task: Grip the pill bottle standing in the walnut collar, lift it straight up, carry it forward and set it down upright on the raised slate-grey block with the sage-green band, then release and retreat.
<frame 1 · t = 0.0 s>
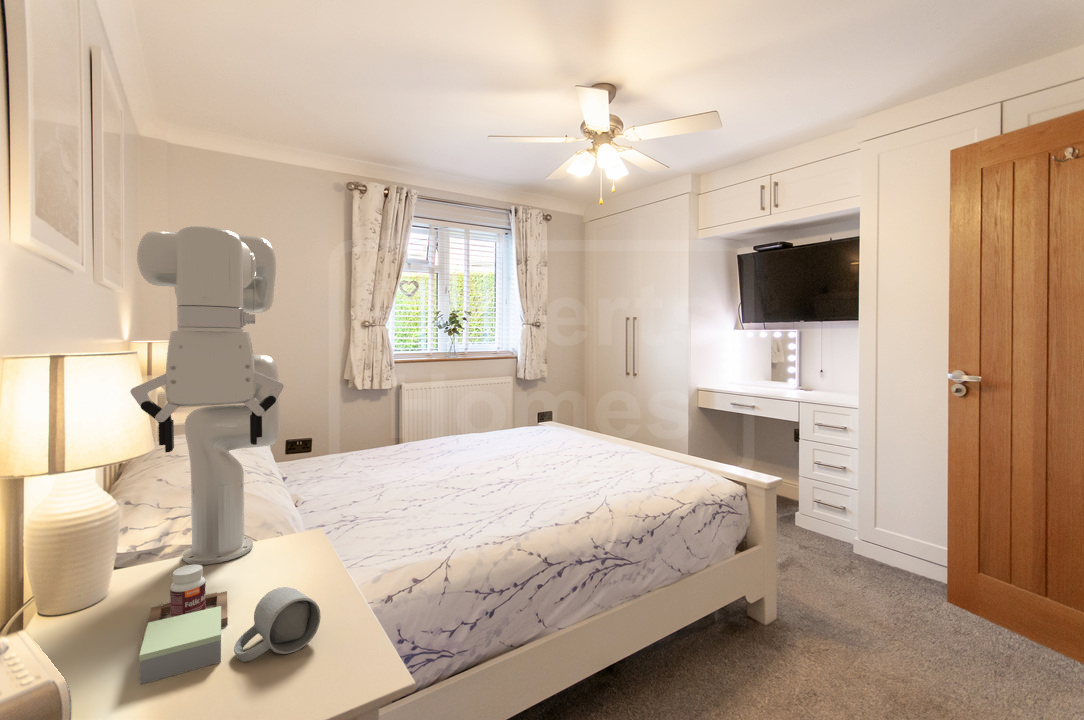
hand: (213, 446, 69), 31 cm above the nightstand, fingers open, 9 cm apart
ceramic mug: (277, 646, 76), on the nightstand
pill bottle: (188, 621, 82), resting in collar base
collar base: (188, 619, 82), on the nightstand
pawl block: (184, 655, 73), on the nightstand
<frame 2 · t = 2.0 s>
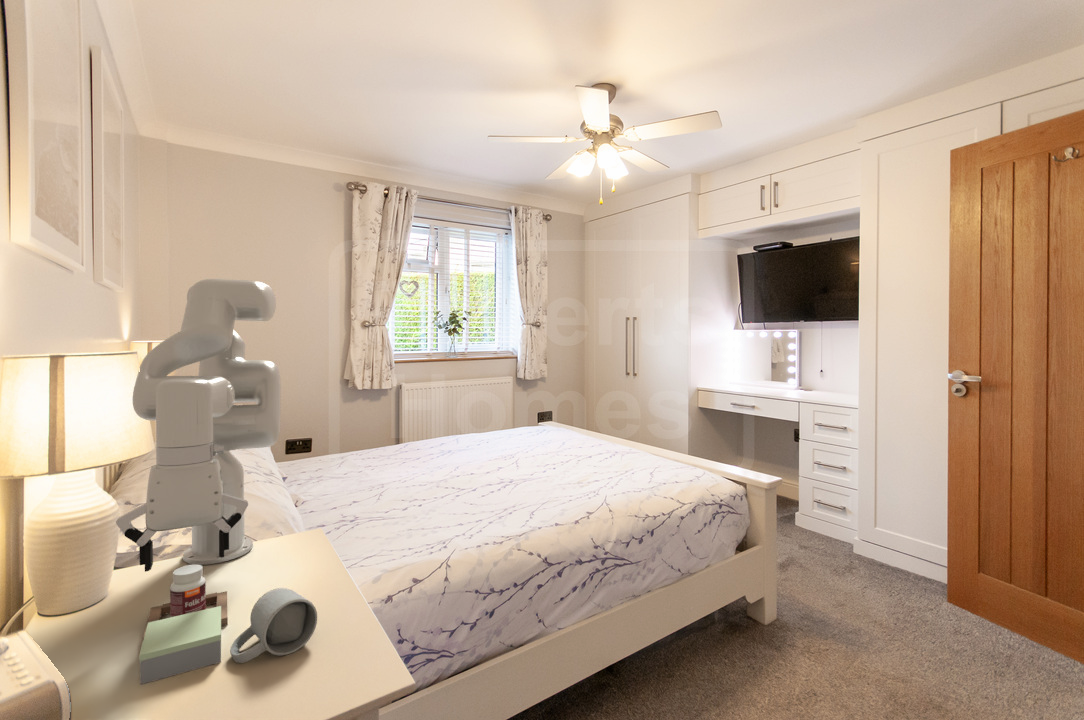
hand: (186, 561, 81), 10 cm above the nightstand, fingers open, 9 cm apart
nothing on the nightstand moved.
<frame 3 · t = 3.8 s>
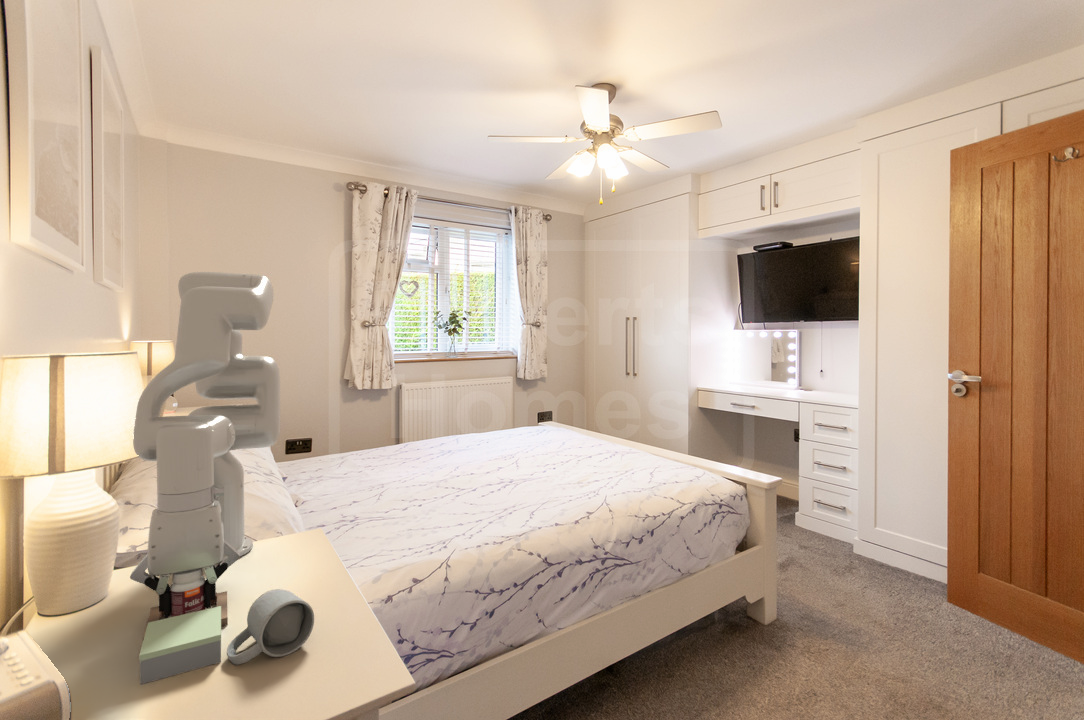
hand: (188, 608, 82), 2 cm above the nightstand, fingers closed on pill bottle, 4 cm apart
pill bottle: (188, 621, 82), resting in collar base, touching gripper
everything else where it was.
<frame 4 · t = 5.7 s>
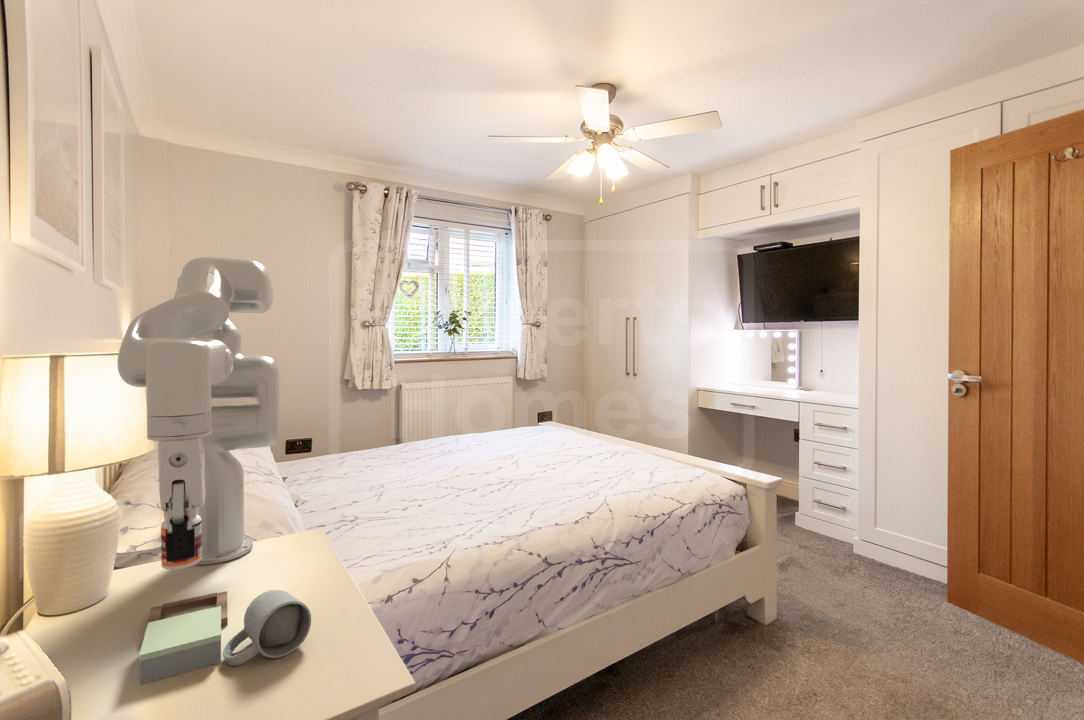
hand: (182, 550, 73), 15 cm above the nightstand, fingers closed on pill bottle, 4 cm apart
pill bottle: (182, 564, 73), point 13 cm above the nightstand, touching gripper
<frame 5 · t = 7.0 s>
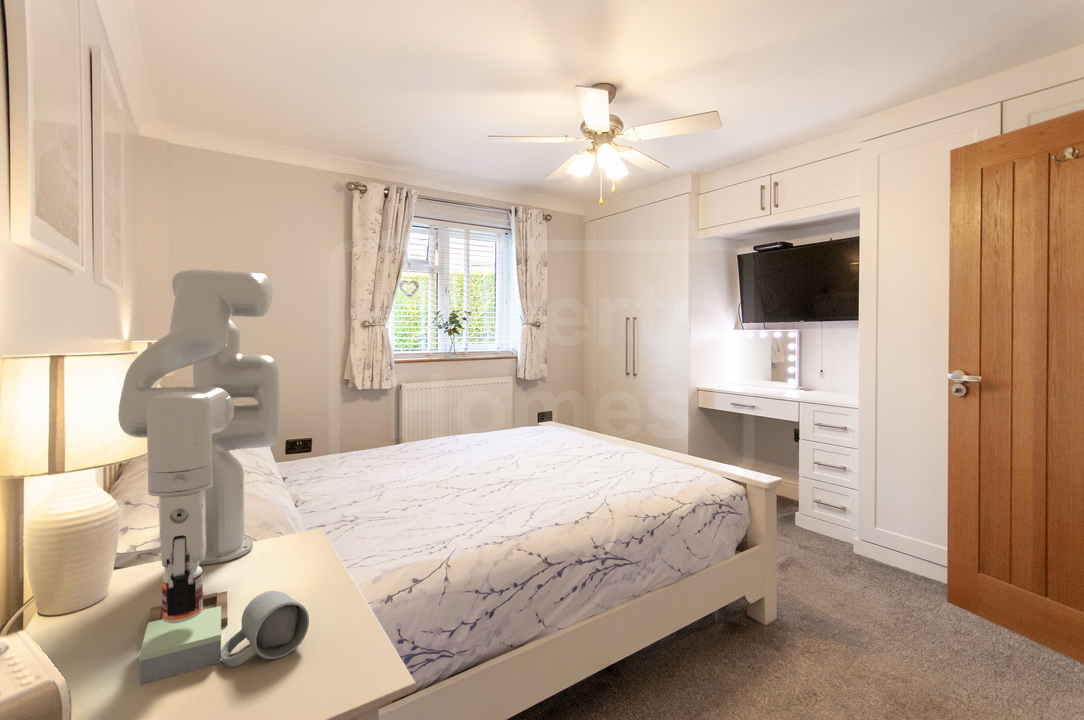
hand: (183, 602, 73), 8 cm above the nightstand, fingers closed on pill bottle, 4 cm apart
pill bottle: (183, 616, 73), point 6 cm above the nightstand, touching gripper
when the fingers open (7 cm above the nightstand, at t = 7.9 s): pill bottle drops 1 cm, resting on pawl block.
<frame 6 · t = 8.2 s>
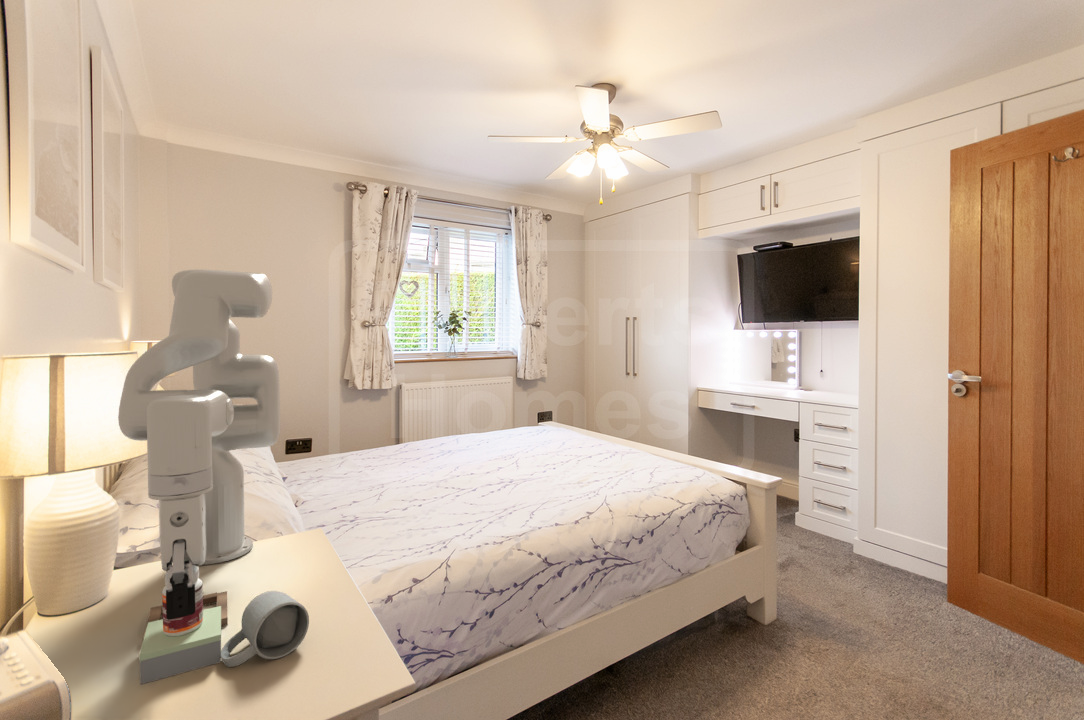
hand: (183, 601, 73), 8 cm above the nightstand, fingers open, 8 cm apart
pill bottle: (183, 629, 73), point 4 cm above the nightstand, touching pawl block
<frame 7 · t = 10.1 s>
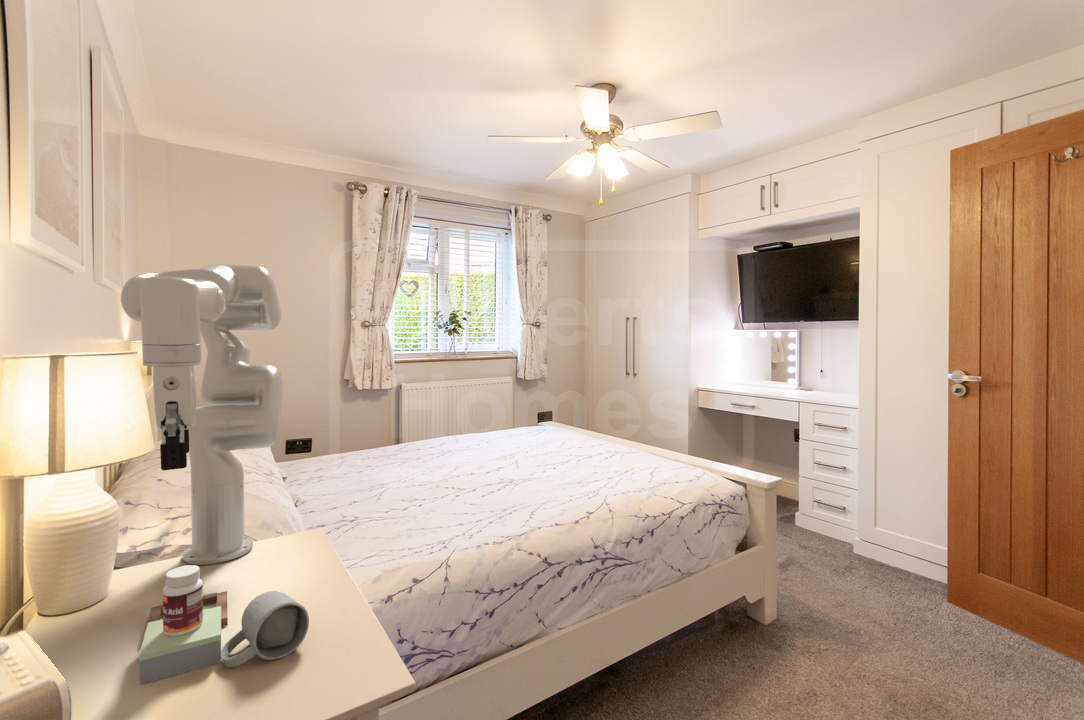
hand: (176, 460, 82), 26 cm above the nightstand, fingers open, 9 cm apart
ceramic mug: (264, 652, 75), on the nightstand, touching pawl block
everything else where it was.
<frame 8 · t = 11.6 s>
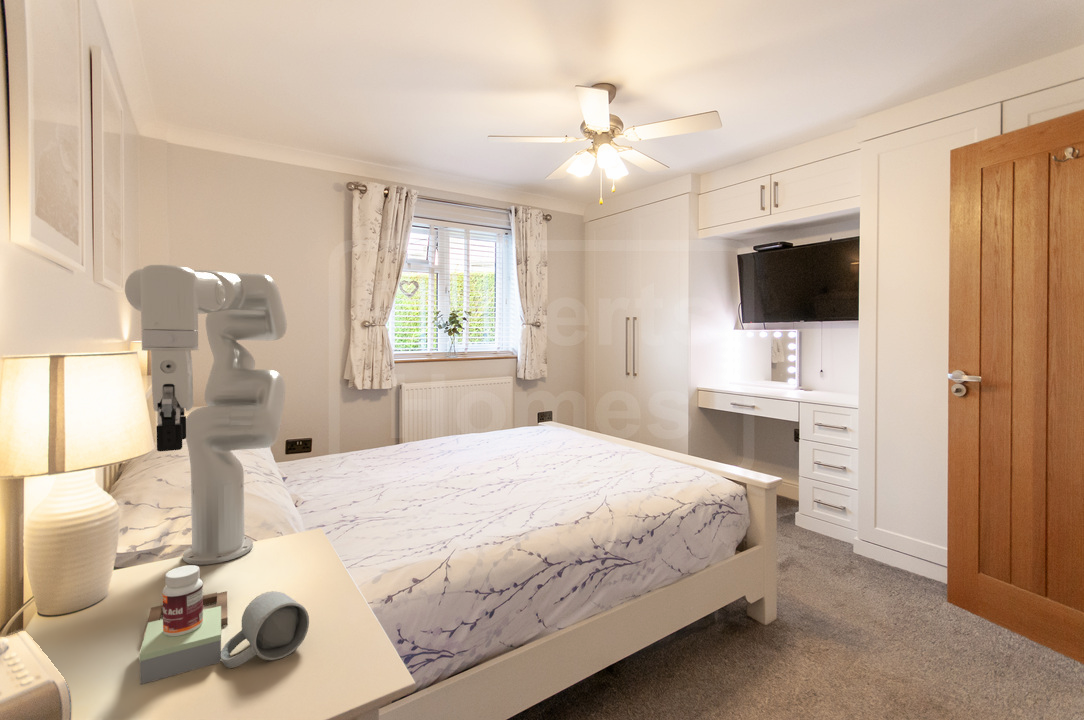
hand: (172, 444, 84), 28 cm above the nightstand, fingers open, 9 cm apart
ceramic mug: (264, 652, 74), on the nightstand
everything else where it was.
at the end: pill bottle inside the target area on the pawl block (0.2 cm from its centre), point 3.8 cm above the pawl block's base; pill bottle tilted 0°; the gripper is holding nothing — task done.
